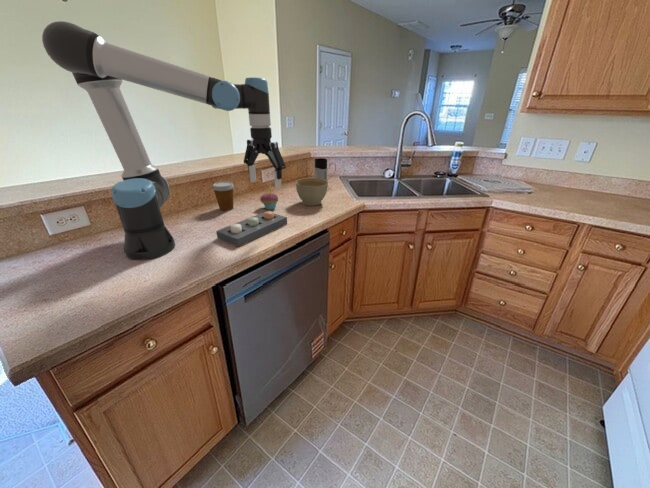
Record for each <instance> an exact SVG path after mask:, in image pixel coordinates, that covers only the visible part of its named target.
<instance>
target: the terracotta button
mask: <svg viewBox="0 0 650 488" xmlns="http://www.w3.org/2000/svg"><path fill="white" fill-rule="evenodd" d="M274 214H275V213H274V212H273V211H271V210H268V211H267V210H266V211H264V219H266V220H271V219H274Z"/></svg>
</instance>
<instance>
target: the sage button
mask: <svg viewBox="0 0 650 488" xmlns="http://www.w3.org/2000/svg"><path fill="white" fill-rule="evenodd" d="M247 219H248V225H249V226H251V227H255V226H257V225H259V221H258V218H257V217H253V216H251V217H248V218H247Z"/></svg>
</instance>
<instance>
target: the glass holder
mask: <svg viewBox="0 0 650 488" xmlns="http://www.w3.org/2000/svg"><path fill="white" fill-rule="evenodd" d="M331 164H333V165H334V173H333V174H332V175H331V176H330V177H329V178H328V170H330V168H331ZM336 171H337V165H336V163H335V162H330V163H329V165H328V159H327V158H320V157H319V158H318V157H317V158H315V159H314V178H318V179H323V180H326V181H328V180H329V179H331V178H332V177H333V176H334V175H335V173H336Z"/></svg>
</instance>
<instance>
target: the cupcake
mask: <svg viewBox="0 0 650 488" xmlns="http://www.w3.org/2000/svg"><path fill="white" fill-rule="evenodd" d="M259 200H260V202H261V203H262V204H263V206H264V208H265V209H266V210H274V209H276V207H277V206H276V205H277V203H278V201H279V197H278V195H277V194H275V193H272V184H270V185H269V193H264V194H262V195H261V196H260V197H259Z"/></svg>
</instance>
